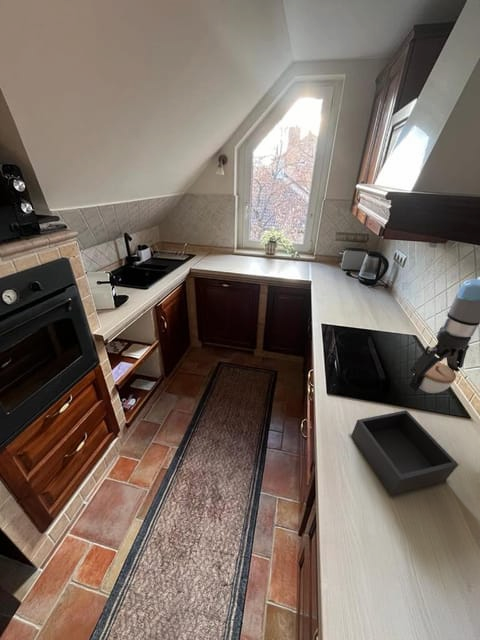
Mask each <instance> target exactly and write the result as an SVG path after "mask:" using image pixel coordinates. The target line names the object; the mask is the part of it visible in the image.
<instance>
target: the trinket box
mask: <svg viewBox="0 0 480 640" xmlns="http://www.w3.org/2000/svg"><path fill="white" fill-rule="evenodd" d="M424 376H425V377H424V379H423V381H422V383H421V385H420V387H419V389H420V390H422V391H423V392H425V393H427V394H428V393H429V394H438V393H442V392H445V391H447V390H448V389H449V388H450V387H451V386H452V384H453V383H454V382H455V380H456V379H457V375H456V371H455V370H454V371H453V370H452V369H451V368H449V367H448V365H446V364H445V363H443V362H441V361H440V362H437V363H436V364H435V365H434V366H433V367H432V368H431V369H430V370H428V371H427V372H426V373H425V374H424Z"/></svg>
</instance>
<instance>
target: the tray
mask: <svg viewBox="0 0 480 640" xmlns="http://www.w3.org/2000/svg"><path fill="white" fill-rule="evenodd" d="M350 437H351V438H352V439H353V441H354V442H355V444H356V445H357V447H358V449H359V450H360V451H361V454H362V455H363V456H364V458H365V459H366V460H367V462H368V464H369V466H370V467H371V468H372V469H373V471H374V472H375V474H376V476H377V477H378V479H379V480H380V482H381V483H382V485H383V486H384V488H385V489H386V491H387V492H388V494H389V495H390V496H395V495H398V494H402V493H406V492H409V491H413V490H418V489H421V488H424V487H428V486H432V485H436V484H439V483H442V482H446V481H447V480H448V479H449V477H450V476H451V475H452V474H453V472H454V471H455V470H456V469H457V468H458V466H459V463H458V462H457V461H456V460H455V459H454V457H452V456H451V454H449V453H448V451H446V450H445V449H444V448H443V446H442V445H441V444H440V443H439V442H438V441H437V440H436V439H435V438H434V437H433V436H432V435H431V434H430V433H429V432H428V431H427V430H426V429H425V427H424V426H422V425H421V424H420V423H419V421H417V419H416V418H415V417H413V415H412V414H411V413H410V412H409V411H408V410H407V409H406V410H400V411H395V412H389V413H385V414H380V415H375V416H370V417H365V418H360V419H357V420H356V423H355V424H354V428H353V431H352V432H351V436H350Z"/></svg>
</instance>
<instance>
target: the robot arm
mask: <svg viewBox="0 0 480 640" xmlns="http://www.w3.org/2000/svg"><path fill="white" fill-rule="evenodd" d="M448 310H449V311H448V312H447V314H446V315H445V318H444V320H443V323H442V324H441V327H440V328H439V330H438V332H437V334H436V337H435V338H436V340H437V343H436V344H435V346H433V347H432V346H430V345H428V346H426V347H425V349H424V350H423V353H422V354H421V356H419V358H418V359H417V361H416V362H415V363H414V364H413V365H412V367H411V368H410V371H411V373H413V376H412V378H411V381H410V383H409V385H408V386H409V387H410V388H411V389H412V390H414V391H415V392H418V391H419V389H420V388H419V387H420V385H421V383H422V381H423V379H424V377H425V376H424V374H425V373H426V372H427V371H428V370H430V369H431V368H432V367H433V366H434V365H435V364H436V363H437V362H440V363H441V362H442V361H443V360H444V359H446V364H447V365H446V366H448V367H449V368H451V369H452V370H453V371H454V372H455V373H458V372H460V369H461V368H463V366H464V363H465V358H466V356H467V351H468V349H469V348H470V345H469V343H470V342H471V340H472V337H473V336H474V335H475V332H476V331H477V329H478V328H479V326H480V276H478V277H477V278H471V279H466V280H465V281H464V282H463V283H462V284H461V286H460V287H459V289H458V291H457V292H456V294H455V297H454V299H453V302H452V303H451V305H450V308H449V309H448Z"/></svg>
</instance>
